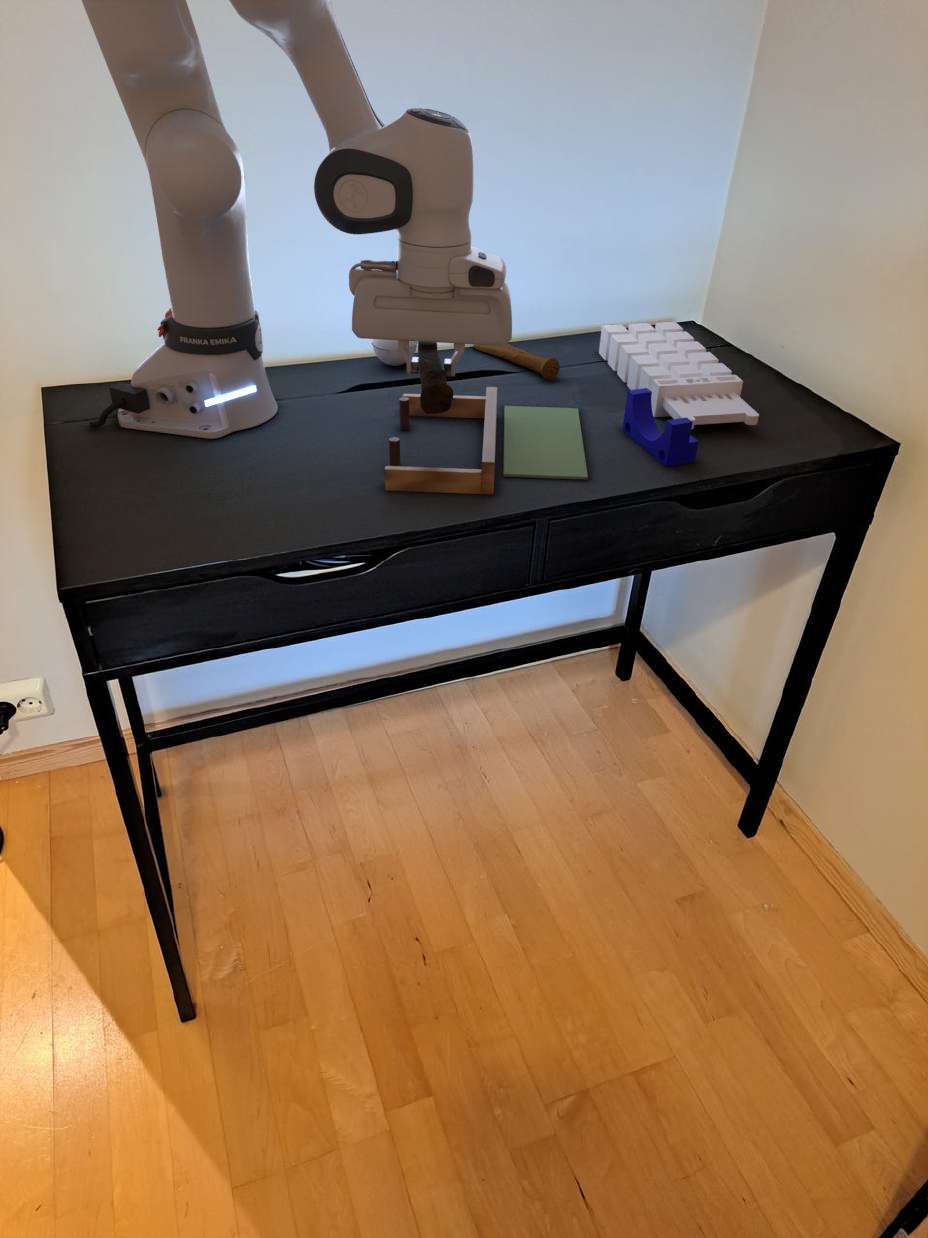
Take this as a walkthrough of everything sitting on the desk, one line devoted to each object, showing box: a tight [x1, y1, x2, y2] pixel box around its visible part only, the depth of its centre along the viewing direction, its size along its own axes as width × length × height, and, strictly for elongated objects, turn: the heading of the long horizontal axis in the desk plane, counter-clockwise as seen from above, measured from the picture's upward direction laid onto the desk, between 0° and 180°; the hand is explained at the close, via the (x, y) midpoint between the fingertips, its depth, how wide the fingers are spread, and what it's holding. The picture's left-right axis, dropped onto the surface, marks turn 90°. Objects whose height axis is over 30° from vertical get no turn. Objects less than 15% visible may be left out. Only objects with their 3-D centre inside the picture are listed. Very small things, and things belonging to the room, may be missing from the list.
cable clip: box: [622, 388, 699, 467], centre depth 124 cm, size 12×4×6 cm, turn 21°
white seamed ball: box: [371, 339, 418, 367], centre depth 145 cm, size 10×7×7 cm
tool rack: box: [384, 386, 498, 495], centre depth 122 cm, size 14×24×4 cm, turn 178°
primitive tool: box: [472, 342, 561, 381], centre depth 149 cm, size 19×6×4 cm, turn 37°
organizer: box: [598, 321, 760, 430], centre depth 140 cm, size 13×5×35 cm
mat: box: [502, 405, 589, 481], centre depth 126 cm, size 11×22×1 cm, turn 178°
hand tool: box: [417, 341, 454, 414], centre depth 117 cm, size 19×4×5 cm, turn 4°
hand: (431, 373), depth 117 cm, fingers closed on hand tool, 3 cm apart
